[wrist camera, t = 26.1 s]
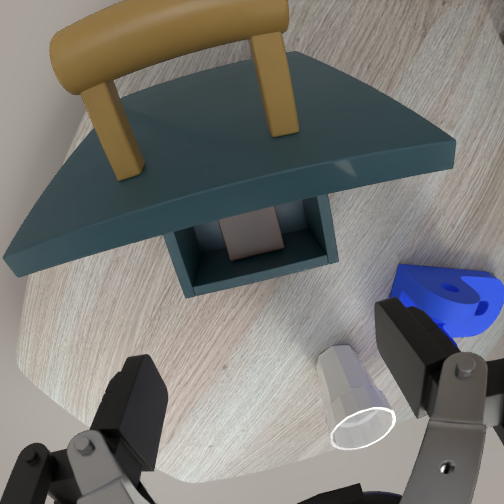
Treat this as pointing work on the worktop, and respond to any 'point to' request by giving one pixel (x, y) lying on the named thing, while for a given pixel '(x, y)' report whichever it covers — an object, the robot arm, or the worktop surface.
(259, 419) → the worktop surface
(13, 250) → the lid
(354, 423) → the cup
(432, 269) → the bracket
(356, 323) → the worktop surface
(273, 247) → the block
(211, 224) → the box
